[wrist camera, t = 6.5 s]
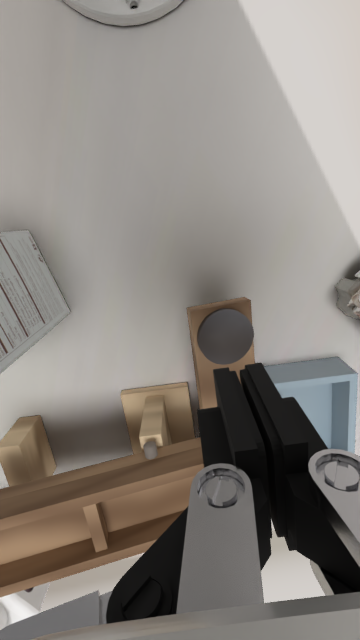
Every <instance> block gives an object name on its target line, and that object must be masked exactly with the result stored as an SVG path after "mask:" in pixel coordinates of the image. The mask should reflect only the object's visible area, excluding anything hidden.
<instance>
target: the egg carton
mask: <svg viewBox="0 0 360 640" xmlns="http://www.w3.org/2000/svg"><path fill="white" fill-rule="evenodd" d="M355 277H358V278H357V279H354V280H349V279H346V278H343V279H341V280H340V282H339V283H338V284H337V285H336V286H335V288H336V289H337V292H338V295H339V298H338V302H337V304H336V305H337V307H338V308H339V309H340V310H342V312H344V314H345V315H347V316H351V317H352V318H355V319H359V318H360V302H359V299H358V298H359V294H360V270H359V271H358V272H357V273H356V274H355Z"/></svg>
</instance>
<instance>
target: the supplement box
mask: <svg viewBox="0 0 360 640" xmlns="http://www.w3.org/2000/svg"><path fill="white" fill-rule="evenodd" d="M69 313H70V310H69V308H68V306H67V304H66V302H65V300H64V298H63V296H62V294H61V292H60V290H59V288H58V286H57V284H56V282H55V280H54V278H53V276H52V274H51V273H50V271H49V269H48V267H47V265H46V263H45V261H44V259H43V257H42V255H41V253H40V251H39V249H38V247H37V245H36V243H35V241H34V239H33V237H32V236H31V234H30V232H29V231H28V230H25V231H9V232H0V374H1V373H2V372H3V371H4V370H5V369H6V368H8V367H9V366H10V365H11V364H12V363H13V362H14V361H16V360H17V359H18V358H19V357H20V356H22V355H23V354H24V353H25V352H26V351H27V350H29V349H30V348H31V347H32V346H33V345H34V344H35V343H37V342H38V341H39V340H40V339H41V338H42V337H43V336H45V335H46V334H47V333H48V332H49V331H50V330H51V329H52V328H54V327H55V326H56V325H57V324H58V323H59V322H60V321H61V320H63V319H64V318H65V317H66V316H67V315H68V314H69Z"/></svg>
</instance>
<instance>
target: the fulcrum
mask: <svg viewBox="0 0 360 640" xmlns="http://www.w3.org/2000/svg"><path fill="white" fill-rule="evenodd" d="M121 400H122V404H123V409H124V414H125V418H126V423H127V428H128V432H129V437H130V442H131V446H132V451H133V454H137V453H141V452H144V448H143V445H144V444H145V443H146V442H148V441H154V442H155V443H156V447H157V448H160V447H164V446H168V445H172V444H176V443H179V442H183V441H187V440H191V439H195V434H194V427H193V419H192V412H191V405H190V398H189V391H188V384H187V382H185V383H177V384H169V385H161V386H153V387H145V388H137V389H129V390H122V392H121Z"/></svg>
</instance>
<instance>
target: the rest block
mask: <svg viewBox="0 0 360 640" xmlns="http://www.w3.org/2000/svg"><path fill="white" fill-rule="evenodd" d="M0 463H1V465H2V468H3V471H4V473H5V476H6V479H7V481H8V484H9V487H11V486H14V485H18V484H22V483H26V482H30V481H34V480H37V479H41V478H45V477H49V476H52V475H53V473H54V471H55V469H56V464H55V461H54V457H53V454H52V451H51V448H50V445H49V441H48V438H47V435H46V432H45V429H44V425H43V422H42V419H41V416H40V415H38V416H30V417H21V418H19V419H18V420H17V421H16V423H15V424H14V425H13V426H12V428H11V429H10V430H9V431H8V433H7V434H6V435H5V436H4V438H3V439H2V440H1V441H0Z"/></svg>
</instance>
